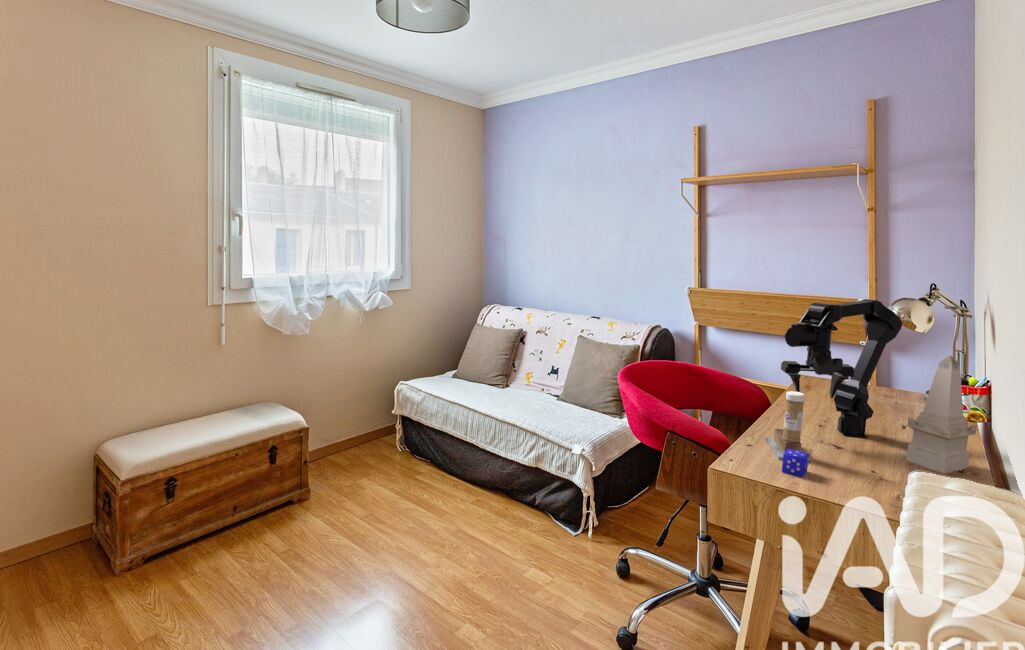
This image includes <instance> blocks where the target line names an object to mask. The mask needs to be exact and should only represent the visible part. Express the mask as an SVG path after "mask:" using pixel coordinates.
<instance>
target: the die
mask: <svg viewBox="0 0 1025 650" xmlns="http://www.w3.org/2000/svg"><path fill="white" fill-rule="evenodd" d="M808 457H809V458H810V453H809V452H805V451H804V452H800V451H796V450H791V449H787V450H786V452H785V453H784V454H783V460H782V464H781V473H783V474H786V475H787V474H788V475H791V476H795V477H798V478H799V477H800V478H804V477H805V475H806V474H807V472H808V467H809V466H808V465H809V462H808Z"/></svg>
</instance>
